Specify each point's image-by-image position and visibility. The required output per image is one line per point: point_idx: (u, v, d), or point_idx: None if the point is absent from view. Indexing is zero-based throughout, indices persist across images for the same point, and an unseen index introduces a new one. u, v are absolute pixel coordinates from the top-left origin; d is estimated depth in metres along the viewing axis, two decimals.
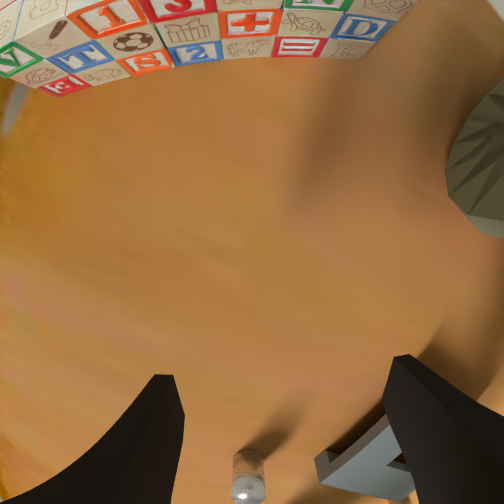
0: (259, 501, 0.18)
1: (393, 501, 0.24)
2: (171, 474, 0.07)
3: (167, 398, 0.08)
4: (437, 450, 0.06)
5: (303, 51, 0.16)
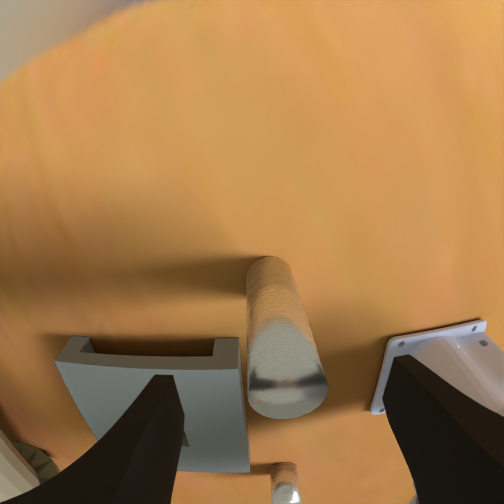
0: (287, 501, 0.20)
1: None
2: (171, 474, 0.07)
3: (167, 398, 0.08)
4: (437, 450, 0.06)
5: None
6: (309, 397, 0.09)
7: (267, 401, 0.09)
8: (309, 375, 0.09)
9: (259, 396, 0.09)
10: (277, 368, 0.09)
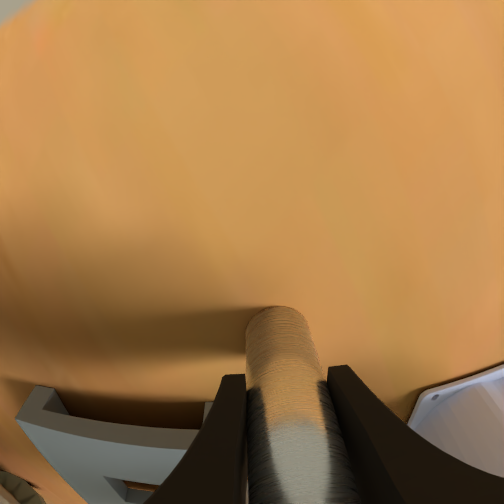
0: None
1: None
2: (245, 476, 0.07)
3: (244, 398, 0.08)
4: (361, 472, 0.06)
5: None
6: None
7: None
8: None
9: None
10: None
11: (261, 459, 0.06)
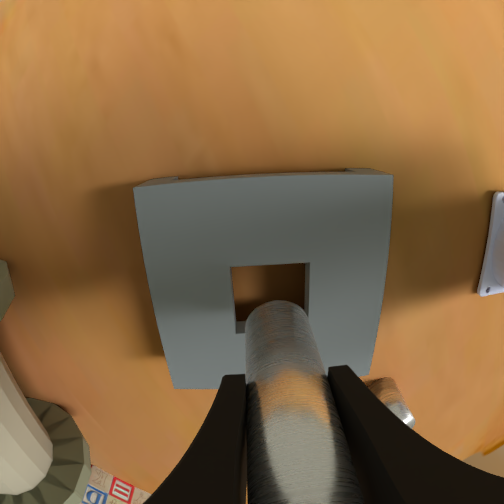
0: (403, 420, 0.17)
1: None
2: (245, 476, 0.07)
3: (244, 398, 0.08)
4: (361, 472, 0.06)
5: (119, 484, 0.27)
6: None
7: None
8: None
9: None
10: None
11: (266, 450, 0.06)
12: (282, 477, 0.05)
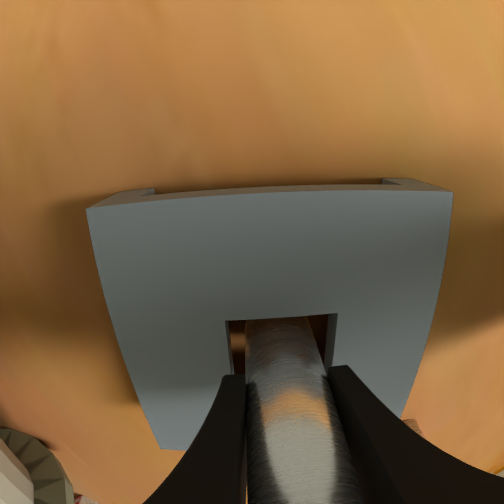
0: None
1: None
2: (245, 476, 0.07)
3: (244, 398, 0.08)
4: (361, 472, 0.06)
5: None
6: None
7: None
8: None
9: None
10: None
11: (266, 450, 0.06)
12: (282, 477, 0.05)
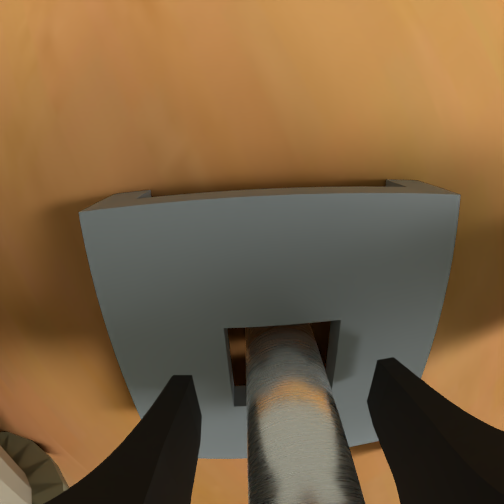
0: None
1: None
2: (191, 475, 0.07)
3: (187, 399, 0.08)
4: (418, 457, 0.06)
5: None
6: None
7: None
8: None
9: None
10: None
11: (265, 425, 0.07)
12: (280, 449, 0.06)
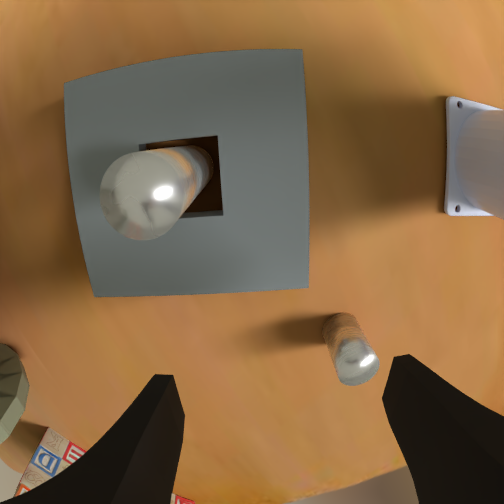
0: (362, 356, 0.16)
1: None
2: (171, 474, 0.07)
3: (167, 398, 0.08)
4: (437, 450, 0.06)
5: (75, 450, 0.26)
6: (161, 205, 0.09)
7: (118, 204, 0.08)
8: (161, 169, 0.08)
9: (110, 196, 0.08)
10: (128, 154, 0.08)
11: None
12: None
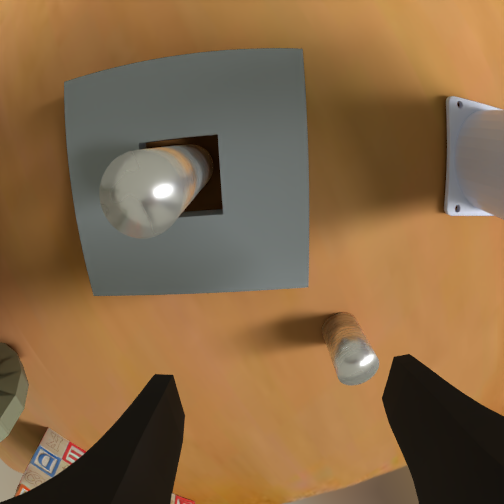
0: (361, 355, 0.16)
1: None
2: (171, 474, 0.07)
3: (167, 398, 0.08)
4: (437, 450, 0.06)
5: (75, 451, 0.26)
6: (161, 203, 0.09)
7: (118, 203, 0.08)
8: (161, 168, 0.08)
9: (110, 194, 0.08)
10: (128, 152, 0.08)
11: None
12: None
